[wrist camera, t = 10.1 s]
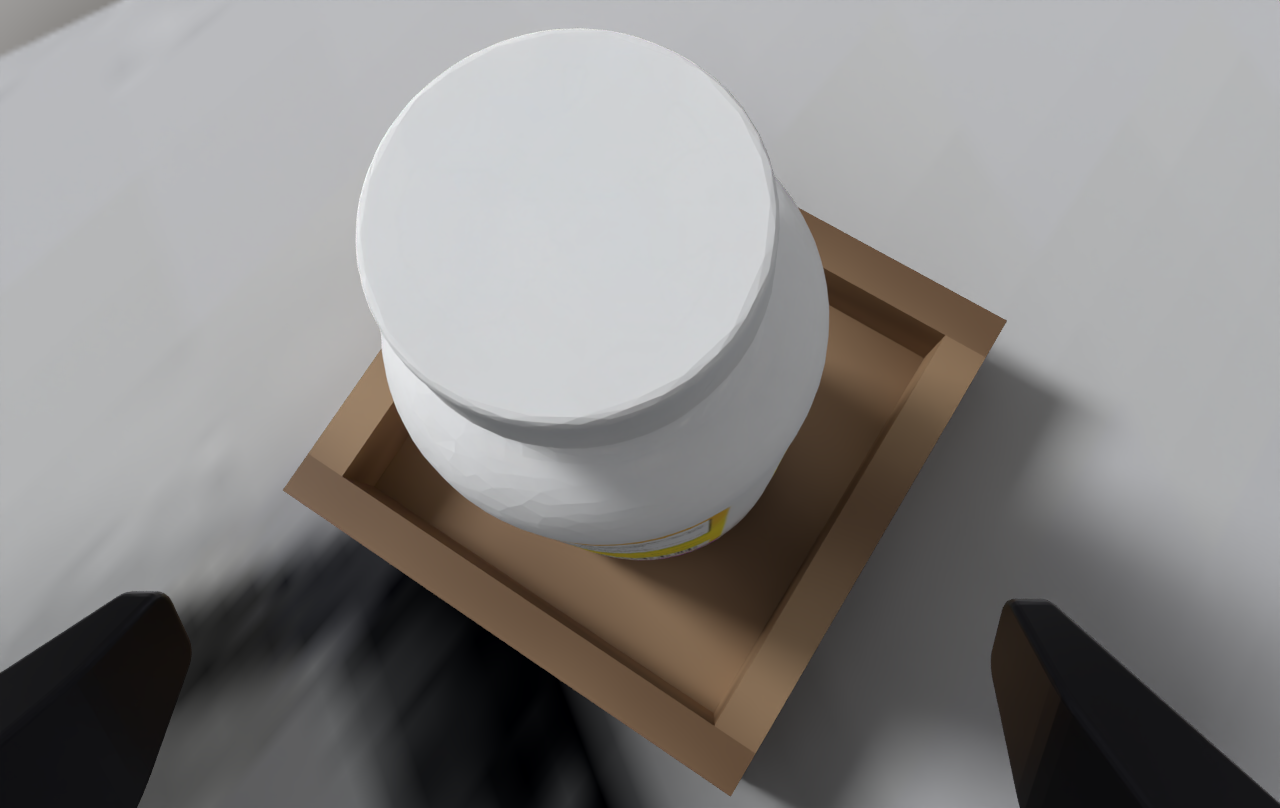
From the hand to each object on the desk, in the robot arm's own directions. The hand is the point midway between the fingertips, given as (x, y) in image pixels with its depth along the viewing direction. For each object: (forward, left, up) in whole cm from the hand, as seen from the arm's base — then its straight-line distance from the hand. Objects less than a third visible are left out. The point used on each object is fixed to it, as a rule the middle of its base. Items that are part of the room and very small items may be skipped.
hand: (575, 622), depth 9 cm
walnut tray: (+4, +2, -12) cm, 13 cm away
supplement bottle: (+4, +2, -12) cm, 13 cm away
